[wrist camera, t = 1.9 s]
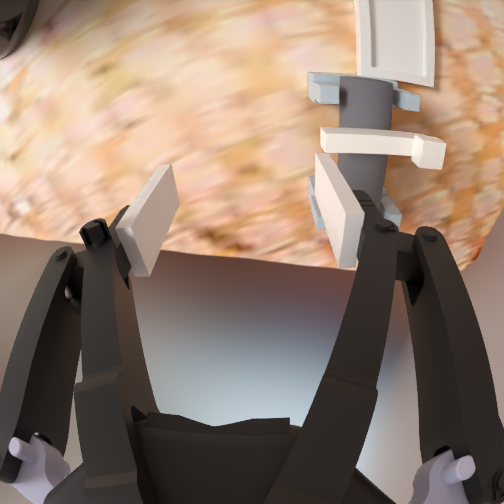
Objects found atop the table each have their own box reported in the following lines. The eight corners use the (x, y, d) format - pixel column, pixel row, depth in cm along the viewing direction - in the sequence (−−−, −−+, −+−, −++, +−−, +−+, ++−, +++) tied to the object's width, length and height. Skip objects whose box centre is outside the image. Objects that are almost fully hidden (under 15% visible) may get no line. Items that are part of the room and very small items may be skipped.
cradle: (304, 72, 26) (320, 77, 20) (385, 77, 25) (420, 88, 19) (305, 196, 36) (316, 235, 30) (374, 195, 36) (398, 232, 29)
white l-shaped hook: (320, 122, 21) (330, 134, 18) (425, 130, 21) (446, 143, 18) (320, 149, 23) (329, 165, 20) (422, 153, 22) (441, 169, 19)
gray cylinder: (333, 75, 23) (348, 79, 19) (380, 79, 22) (402, 86, 19) (329, 212, 33) (338, 237, 29) (368, 211, 33) (381, 236, 29)
